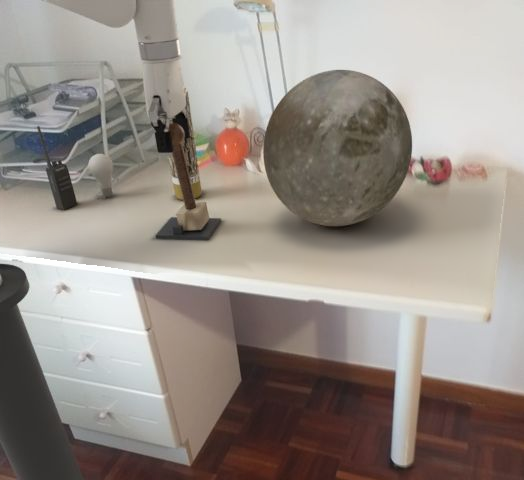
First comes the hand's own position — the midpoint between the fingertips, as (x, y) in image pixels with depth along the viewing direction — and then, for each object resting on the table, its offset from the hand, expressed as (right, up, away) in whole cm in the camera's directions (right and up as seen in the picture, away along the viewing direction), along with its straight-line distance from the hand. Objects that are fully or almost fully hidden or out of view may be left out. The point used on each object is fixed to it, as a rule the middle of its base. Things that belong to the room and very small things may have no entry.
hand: (174, 144), depth 116 cm
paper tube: (-1, -3, +28) cm, 28 cm away
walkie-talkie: (-32, -6, +29) cm, 43 cm away
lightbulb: (-22, -2, +32) cm, 39 cm away
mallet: (-1, -5, +4) cm, 7 cm away
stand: (+1, -15, +11) cm, 19 cm away
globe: (+34, -14, +9) cm, 38 cm away
